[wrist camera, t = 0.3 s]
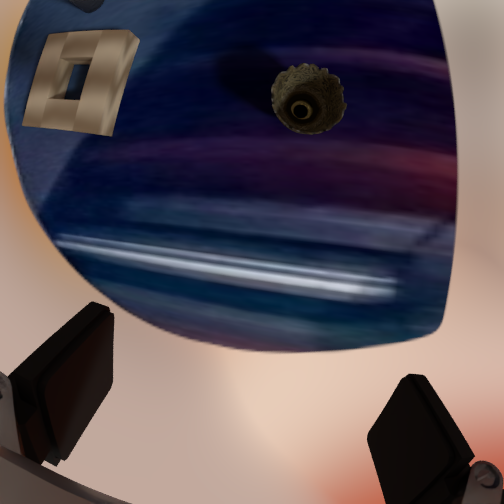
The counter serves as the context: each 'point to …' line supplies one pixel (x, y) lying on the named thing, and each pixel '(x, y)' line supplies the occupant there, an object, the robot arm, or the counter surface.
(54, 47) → the square wooden frame
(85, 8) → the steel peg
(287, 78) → the brown bumpy hollow part
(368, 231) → the counter surface
